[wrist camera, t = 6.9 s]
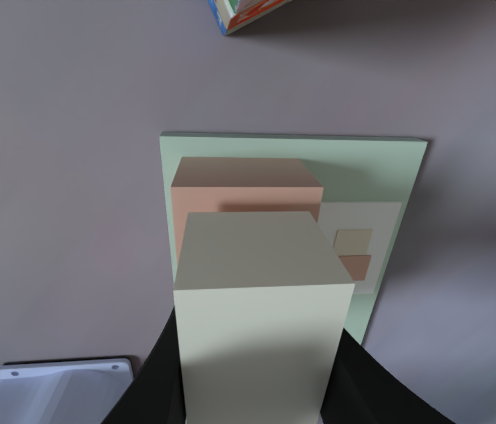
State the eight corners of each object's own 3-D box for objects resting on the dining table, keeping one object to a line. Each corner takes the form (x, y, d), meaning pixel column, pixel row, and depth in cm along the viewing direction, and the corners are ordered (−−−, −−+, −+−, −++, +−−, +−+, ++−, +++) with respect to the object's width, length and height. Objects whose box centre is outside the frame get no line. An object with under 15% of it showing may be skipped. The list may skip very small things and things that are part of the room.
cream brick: (198, 370, 14) (192, 470, 11) (188, 212, 10) (173, 290, 7) (285, 364, 15) (307, 458, 11) (309, 211, 11) (355, 283, 7)
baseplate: (187, 403, 26) (181, 474, 21) (162, 131, 15) (139, 160, 10) (337, 391, 27) (361, 455, 23) (416, 137, 16) (491, 165, 12)
